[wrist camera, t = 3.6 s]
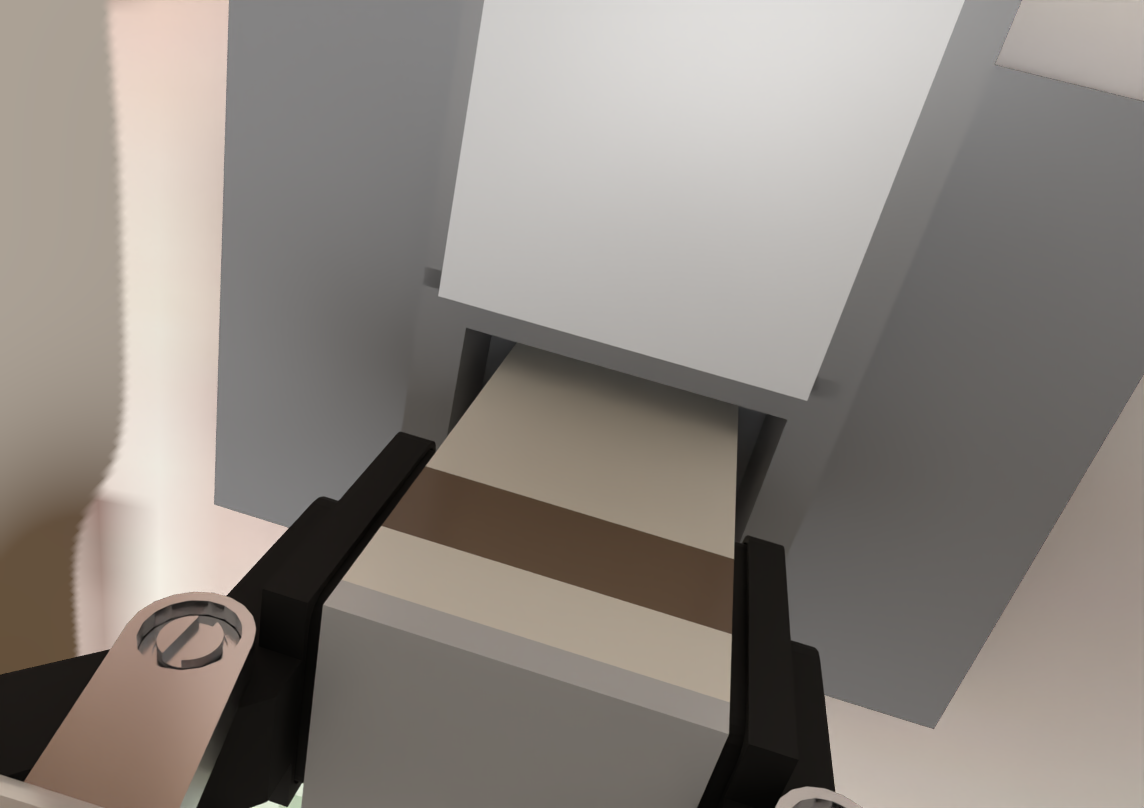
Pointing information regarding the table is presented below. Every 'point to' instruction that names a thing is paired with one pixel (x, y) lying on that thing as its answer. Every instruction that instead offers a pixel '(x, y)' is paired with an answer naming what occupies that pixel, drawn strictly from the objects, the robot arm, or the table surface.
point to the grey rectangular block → (540, 607)
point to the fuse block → (699, 272)
